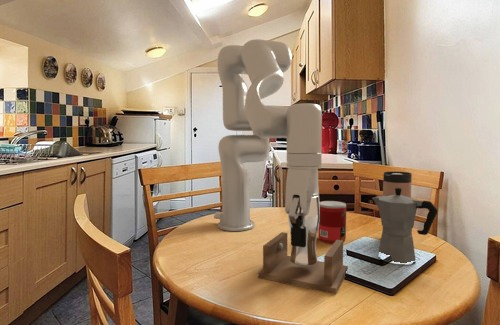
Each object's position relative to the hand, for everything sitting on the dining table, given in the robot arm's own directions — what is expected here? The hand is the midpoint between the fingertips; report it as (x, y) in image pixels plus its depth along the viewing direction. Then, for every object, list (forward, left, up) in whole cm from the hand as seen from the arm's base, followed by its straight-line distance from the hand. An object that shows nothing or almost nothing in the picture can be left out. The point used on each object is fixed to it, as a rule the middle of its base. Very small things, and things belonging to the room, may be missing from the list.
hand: (303, 240), depth 71 cm
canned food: (0, +27, -8) cm, 28 cm away
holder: (0, 0, -8) cm, 8 cm away
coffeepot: (+19, +19, -8) cm, 28 cm away
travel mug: (+17, +35, -8) cm, 40 cm away
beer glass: (0, 0, -5) cm, 5 cm away
